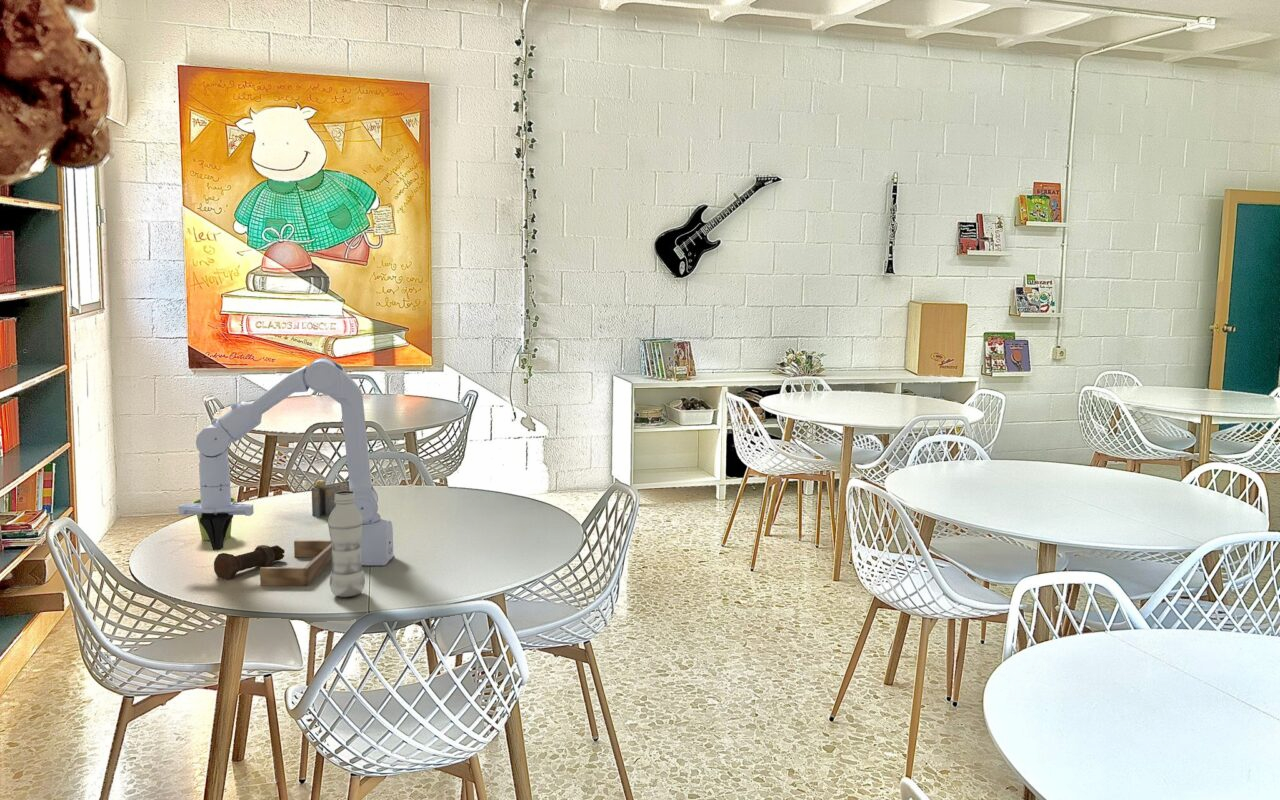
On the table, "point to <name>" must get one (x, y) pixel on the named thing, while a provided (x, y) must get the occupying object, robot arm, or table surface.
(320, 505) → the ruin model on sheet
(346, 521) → the plastic bottle
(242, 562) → the bolt
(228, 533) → the plant pot
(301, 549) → the frame
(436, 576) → the table surface
